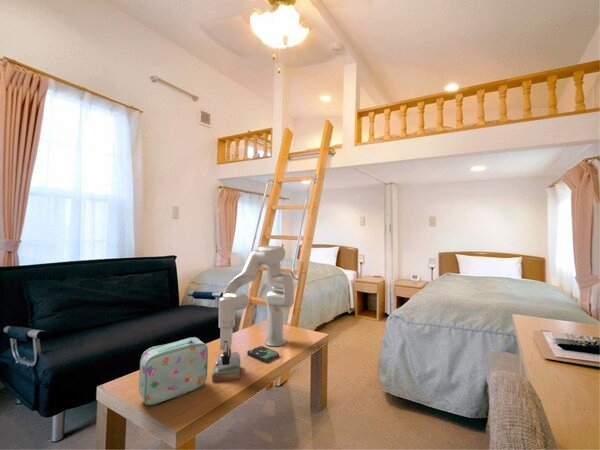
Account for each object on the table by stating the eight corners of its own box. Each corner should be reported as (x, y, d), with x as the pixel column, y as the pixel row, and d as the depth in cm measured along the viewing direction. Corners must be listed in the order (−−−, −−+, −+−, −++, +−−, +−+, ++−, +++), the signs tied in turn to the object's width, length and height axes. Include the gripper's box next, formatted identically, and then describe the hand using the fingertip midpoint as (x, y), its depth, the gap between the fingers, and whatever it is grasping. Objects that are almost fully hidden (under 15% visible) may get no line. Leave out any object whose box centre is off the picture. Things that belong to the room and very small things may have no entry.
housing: (237, 361, 141) (237, 349, 141) (240, 367, 135) (240, 354, 135) (214, 366, 136) (214, 353, 136) (216, 371, 131) (216, 358, 131)
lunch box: (201, 376, 133) (201, 330, 134) (211, 385, 126) (211, 336, 126) (137, 400, 115) (137, 346, 115) (144, 411, 107) (144, 354, 108)
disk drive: (246, 356, 156) (265, 364, 146) (246, 351, 156) (265, 358, 147) (261, 350, 164) (279, 357, 154) (261, 345, 164) (279, 351, 154)
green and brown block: (215, 369, 140) (215, 362, 141) (240, 367, 142) (240, 360, 143) (212, 381, 129) (212, 374, 129) (239, 379, 131) (239, 371, 131)
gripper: (220, 318, 144) (220, 353, 144) (216, 329, 127) (216, 370, 126) (235, 317, 145) (235, 352, 145) (233, 328, 128) (233, 368, 128)
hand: (226, 360), depth 136 cm, fingers open, 7 cm apart
